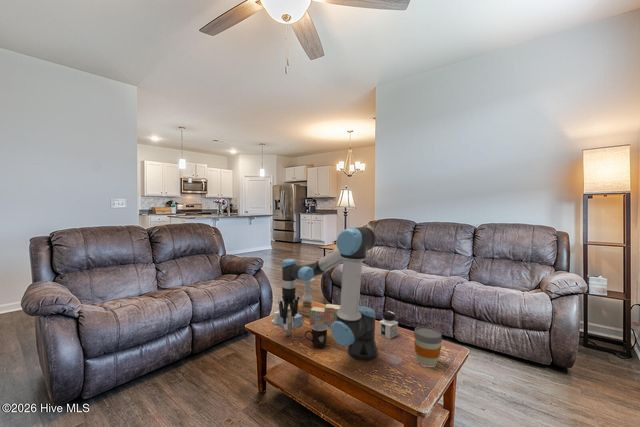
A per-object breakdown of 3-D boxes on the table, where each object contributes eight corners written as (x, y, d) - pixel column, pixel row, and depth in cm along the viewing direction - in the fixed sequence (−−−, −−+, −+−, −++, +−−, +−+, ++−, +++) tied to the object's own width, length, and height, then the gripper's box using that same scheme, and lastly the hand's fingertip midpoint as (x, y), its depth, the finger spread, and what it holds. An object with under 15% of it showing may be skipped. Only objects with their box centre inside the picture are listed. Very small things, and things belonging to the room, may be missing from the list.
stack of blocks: (309, 324, 175) (310, 305, 174) (312, 320, 181) (313, 301, 180) (343, 329, 169) (344, 309, 168) (345, 325, 175) (346, 305, 174)
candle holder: (309, 318, 184) (310, 282, 183) (295, 314, 190) (296, 279, 189) (317, 312, 194) (318, 278, 193) (304, 309, 199) (305, 275, 198)
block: (302, 325, 173) (302, 315, 173) (287, 330, 166) (287, 320, 166) (292, 319, 181) (292, 310, 181) (277, 323, 174) (277, 314, 174)
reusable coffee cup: (408, 363, 135) (410, 332, 134) (418, 352, 144) (419, 323, 144) (435, 373, 127) (437, 341, 126) (444, 362, 136) (445, 331, 136)
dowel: (292, 334, 159) (292, 310, 158) (287, 336, 157) (287, 311, 156) (289, 332, 161) (289, 308, 160) (284, 334, 159) (285, 309, 159)
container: (389, 339, 158) (390, 316, 157) (378, 334, 164) (379, 312, 163) (397, 335, 163) (398, 313, 162) (386, 330, 169) (387, 309, 168)
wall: (294, 318, 182) (294, 308, 182) (275, 324, 173) (275, 313, 173) (289, 316, 186) (289, 305, 186) (271, 321, 177) (271, 310, 177)
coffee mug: (327, 342, 153) (328, 324, 152) (326, 350, 144) (327, 331, 144) (306, 340, 154) (307, 322, 154) (304, 348, 145) (304, 329, 145)
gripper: (296, 283, 166) (296, 322, 167) (273, 288, 156) (272, 329, 156) (304, 285, 160) (303, 326, 161) (280, 291, 150) (280, 334, 151)
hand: (288, 328), depth 159 cm, fingers closed on dowel, 3 cm apart
